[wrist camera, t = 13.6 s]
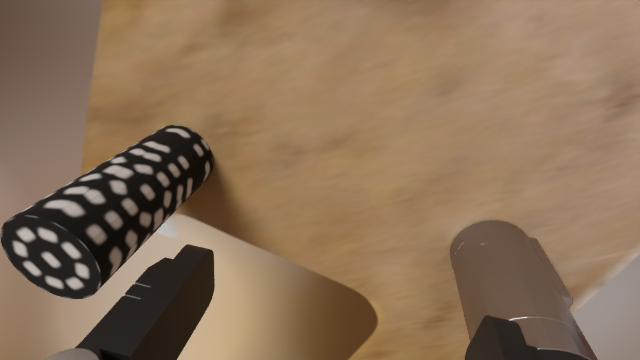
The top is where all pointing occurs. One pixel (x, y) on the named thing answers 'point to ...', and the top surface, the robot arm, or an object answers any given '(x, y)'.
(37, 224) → the white-spotted black cylinder
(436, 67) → the top surface
